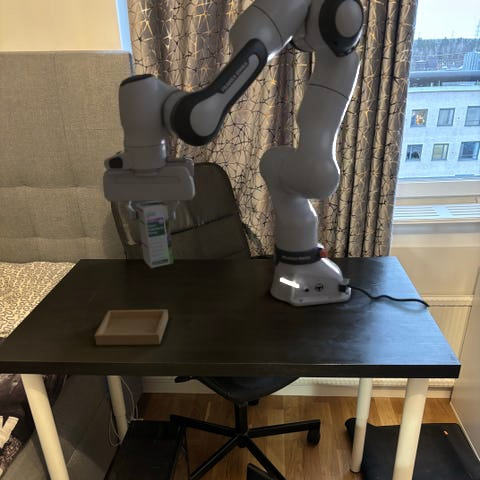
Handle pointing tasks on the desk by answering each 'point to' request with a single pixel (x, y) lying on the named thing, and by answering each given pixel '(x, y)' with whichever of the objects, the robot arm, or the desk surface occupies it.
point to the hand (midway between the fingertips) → (153, 219)
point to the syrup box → (155, 233)
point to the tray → (132, 327)
